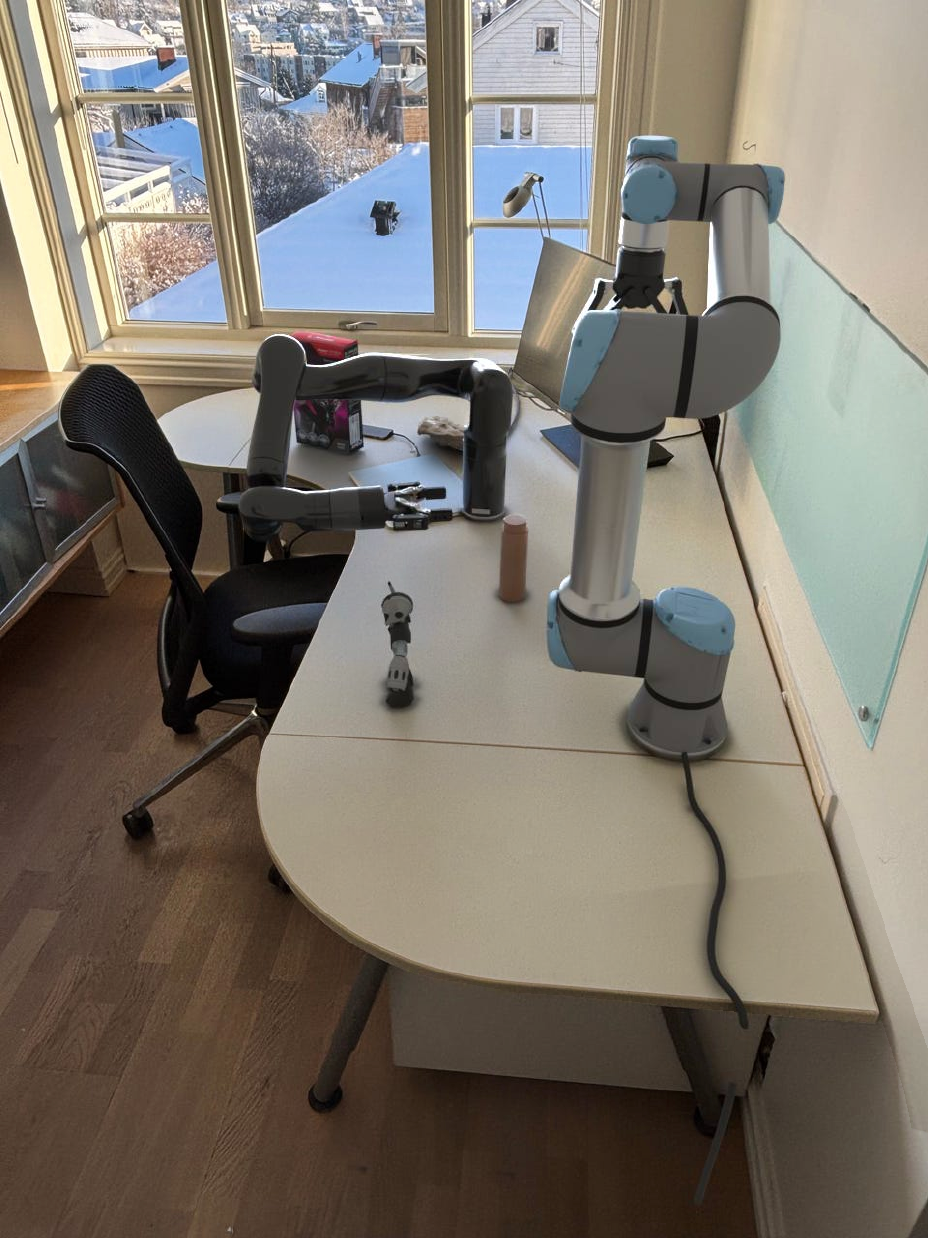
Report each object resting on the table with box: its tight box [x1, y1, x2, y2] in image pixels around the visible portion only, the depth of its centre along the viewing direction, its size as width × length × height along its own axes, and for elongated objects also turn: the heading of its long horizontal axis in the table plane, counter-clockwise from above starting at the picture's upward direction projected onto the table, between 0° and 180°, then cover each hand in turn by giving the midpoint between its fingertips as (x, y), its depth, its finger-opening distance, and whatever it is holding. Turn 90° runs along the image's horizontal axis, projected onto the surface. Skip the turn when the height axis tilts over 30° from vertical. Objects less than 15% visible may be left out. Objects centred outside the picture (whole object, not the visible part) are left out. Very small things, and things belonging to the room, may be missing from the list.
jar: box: [498, 514, 529, 603], centre depth 171 cm, size 5×5×16 cm
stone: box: [416, 415, 464, 452], centre depth 232 cm, size 21×15×6 cm
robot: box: [380, 580, 415, 709], centre depth 145 cm, size 20×5×20 cm, turn 3°
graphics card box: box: [289, 330, 365, 456], centre depth 225 cm, size 17×7×27 cm, turn 62°
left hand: (449, 503), depth 163 cm, fingers open, 8 cm apart
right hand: (627, 378), depth 157 cm, fingers open, 13 cm apart
